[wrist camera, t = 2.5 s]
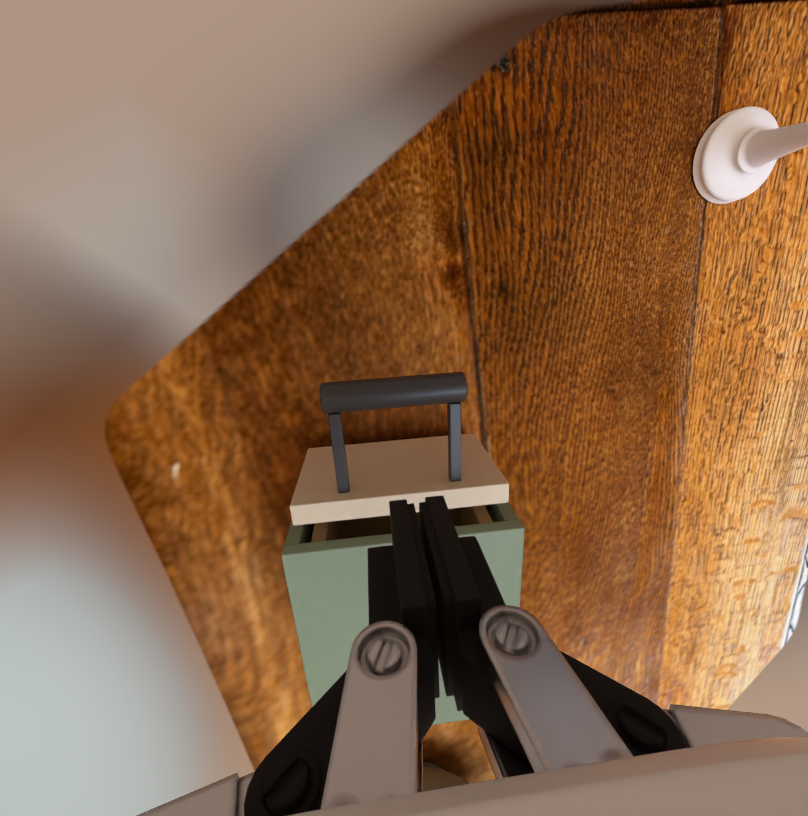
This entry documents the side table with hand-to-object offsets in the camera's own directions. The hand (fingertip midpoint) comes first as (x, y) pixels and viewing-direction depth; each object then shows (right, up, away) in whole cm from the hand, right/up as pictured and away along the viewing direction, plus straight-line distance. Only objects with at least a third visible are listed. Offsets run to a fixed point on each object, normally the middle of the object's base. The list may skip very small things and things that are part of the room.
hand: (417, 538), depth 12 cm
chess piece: (+19, +19, +11) cm, 30 cm away
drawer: (-1, -2, +15) cm, 15 cm away
